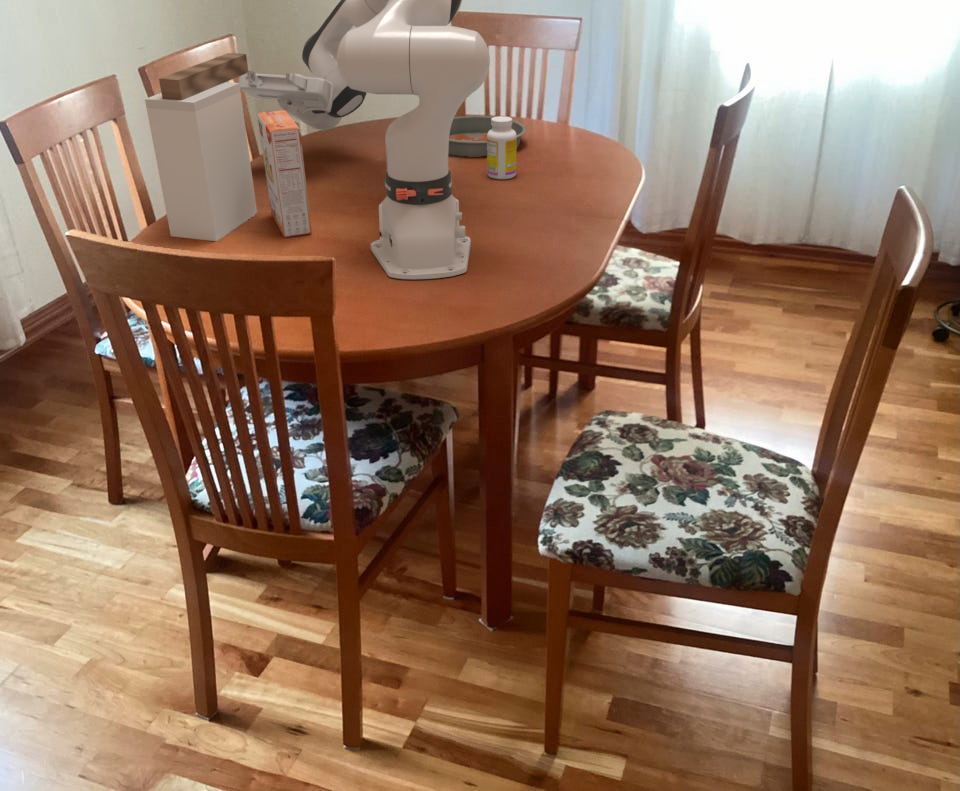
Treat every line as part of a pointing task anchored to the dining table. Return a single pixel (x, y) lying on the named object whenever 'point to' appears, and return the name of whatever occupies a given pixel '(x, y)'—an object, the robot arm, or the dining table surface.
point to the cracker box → (285, 172)
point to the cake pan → (474, 128)
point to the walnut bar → (203, 76)
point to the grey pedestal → (203, 161)
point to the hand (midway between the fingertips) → (268, 75)
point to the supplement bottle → (501, 149)
